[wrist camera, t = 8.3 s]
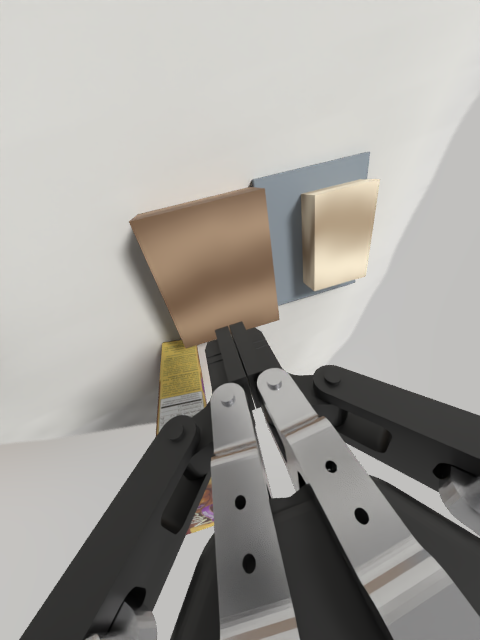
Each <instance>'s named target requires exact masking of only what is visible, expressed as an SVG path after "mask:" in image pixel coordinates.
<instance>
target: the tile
mask: <svg viewBox="0 0 480 640" xmlns="http://www.w3.org/2000/svg"><path fill="white" fill-rule="evenodd" d="M379 183H380V179H359V180H355V181H351V182H347V183H343V184H339V185H335V186H331V187H327V188H323V189H319V190H315V191H311V192H307V193H303V194H301V215H302V254H303V283H305V284H306V285H307V286H308V287H310V288H311V289H312V290H313V291H317V290H321V289H324V288H328V287H331V286H334V285H338V284H341V283H345V282H348V281H351V280H355V279H358V278H362V277H365V276H366V271H367V264H368V257H369V250H370V244H371V237H372V230H373V223H374V217H375V210H376V203H377V196H378V189H379Z"/></svg>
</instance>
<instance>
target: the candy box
mask: <svg viewBox="0 0 480 640" xmlns="http://www.w3.org/2000/svg"><path fill="white" fill-rule="evenodd" d="M206 406H207V402H206V396H205V390H204V384H203V378H202V372H201V367H200V361H199V355H198V349H197V345H196V346H192V347H189V348H185V346H184V344H183V341H182V340H177V341H170V342H164V343H162V353H161V366H160V381H159V396H158V411H157V427H156V436H157V435H158V433H159V432H160V430H161V429H162V427H163V426H164V425H165V424H166V422H168V421H169V420H170V419H172V418H173V417H176V416H179V415H187V416H189V417H193V416H194V415H195V414H197V413H198V412H200V411H201V410H202V409H204V408H205V407H206ZM211 526H214V515H213V498H212V481H211V479H210V481H209V483H208V485H207V488H206V490H205V492H204V495H203V497H202V499H201V501H200V504H199V506H198V508H197V511H196V513H195V515H194V517H193V520H192V522H191V524H190V526H189V529H188V531H187V533H186V535H187V534H190V533H194V532H196V531H199V530H202V529H205V528H208V527H211Z"/></svg>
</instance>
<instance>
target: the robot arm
mask: <svg viewBox="0 0 480 640" xmlns="http://www.w3.org/2000/svg"><path fill="white" fill-rule="evenodd" d="M229 328H230V330H229ZM230 331H231V333H230ZM215 333H216V337H217V339H216V340H213V341H210V342H208V343H207V346H206V349H205V353H206V358H207V364H208V370H209V375H210V381H211V386H212V396H211V399H210V401H209V403H208V404H207V406H206V407H205V408H204V409H202V410H201V411H200V412H198V413H197V414H195V415H194V416H193V417H189V416H187V415H179V416H176V417H173V418H172V419H170V420H169V421H168V422H166V424H165V425H164V426H163V427H162V429H161V430H160V432H159V433H158V435H157V436H156V437H155V439H154V441H153V442H152V443H151V445H150V446H149V448H148V449H147V451H146V453H145V454H144V455H143V457H142V459H141V460H140V461H139V463H138V464H137V466H136V467H135V469H134V470H133V472H132V473H131V475H130V476H129V478H128V479H127V481H126V482H125V483H124V485H123V487H122V488H121V489H120V491H119V492H118V494H117V495H116V497H115V498H114V500H113V501H112V503H111V504H110V506H109V507H108V509H107V510H106V512H105V513H104V515H103V516H102V518H101V519H100V521H99V522H98V524H97V525H96V527H95V528H94V530H93V531H92V532H91V534H90V536H89V537H88V538H87V540H86V541H85V543H84V544H83V546H82V547H81V549H80V550H79V552H78V553H77V555H76V556H75V558H74V559H73V561H72V562H71V564H70V565H69V567H68V568H67V570H66V571H65V573H64V574H63V576H62V577H61V579H60V580H59V581H58V583H57V585H56V586H55V587H54V589H53V591H52V592H51V593H50V595H49V596H48V598H47V599H46V601H45V602H44V604H43V605H42V607H41V609H40V610H39V611H38V613H37V614H36V616H35V617H34V619H33V620H32V622H31V623H30V624H29V626H28V628H27V629H26V630H25V632H24V634H23V635H22V636H21V638H20V639H19V640H157V627H156V621H155V618H154V615H153V614H152V611H153V608H154V606H155V604H156V602H157V599H158V597H159V595H160V593H161V590H162V588H163V586H164V583H165V581H166V579H167V577H168V574H169V572H170V570H171V567H172V565H173V563H174V561H175V558H176V556H177V553H178V552H179V549H180V547H181V545H182V542H183V540H184V538H185V536H186V533H187V531H188V529H189V526H190V524H191V522H192V520H193V517H194V515H195V513H196V511H197V508H198V506H199V504H200V501H201V499H202V497H203V495H204V492H205V490H206V488H207V485H208V483H209V481H210V479H211V481H212V498H213V515H214V531H215V533H214V534H213V535H212V537H211V538H210V540H209V541H208V543H207V545H206V546H205V548H204V550H203V552H202V554H201V556H200V558H199V561H198V563H197V566H196V568H195V572H194V574H193V577H192V580H191V582H190V585H189V588H188V591H187V594H186V597H185V600H184V602H183V605H182V608H181V611H180V613H179V616H178V619H177V622H176V625H175V627H174V630H173V633H172V636H171V639H170V640H480V538H478V537H477V536H475V535H473V534H472V533H470V532H468V531H467V530H465V529H464V528H462V527H460V526H459V525H457V524H455V523H454V522H452V521H450V520H449V519H447V518H445V517H444V516H442V515H441V514H439V513H437V512H436V511H434V510H432V509H431V508H429V507H427V506H426V505H424V504H422V503H421V502H419V501H417V500H416V499H414V498H412V497H411V496H409V495H408V494H406V493H404V492H403V491H401V490H399V489H398V488H396V487H394V486H393V485H391V484H389V483H387V482H385V481H383V480H381V479H379V478H376V477H373V476H371V475H368V474H367V472H366V471H365V469H364V468H363V467H362V465H361V464H360V463H359V461H358V460H357V459H356V457H355V456H354V454H353V453H352V452H351V450H350V449H349V448H348V446H347V445H346V443H347V444H349V445H351V446H353V447H355V448H357V449H358V450H360V451H362V452H364V453H366V454H368V455H370V456H372V457H374V458H375V459H377V460H379V461H381V462H383V463H385V464H387V465H389V466H390V467H392V468H394V469H396V470H398V471H400V472H402V473H404V474H406V475H407V476H409V477H411V478H413V479H415V480H417V481H419V482H421V483H422V484H425V485H426V486H428V487H430V488H432V489H434V490H436V491H437V492H439V494H440V496H441V499H442V501H443V503H444V504H445V506H446V507H447V509H448V510H449V511H450V513H451V514H452V515H453V516H454V517H455V518H457V519H458V520H459V521H460V522H461V523H463V524H464V525H466V526H467V527H469V528H470V529H472V530H473V531H474V532H475V533H477V534H478V535H479V536H480V416H479V415H476V414H473V413H470V412H468V411H465V410H462V409H459V408H456V407H453V406H450V405H447V404H445V403H442V402H439V401H436V400H433V399H430V398H427V397H425V396H422V395H419V394H416V393H413V392H410V391H407V390H404V389H401V388H398V387H396V386H393V385H390V384H387V383H384V382H381V381H378V380H376V379H373V378H370V377H367V376H364V375H361V374H358V373H356V372H353V371H350V370H347V369H344V368H341V367H338V366H334V365H326V366H322V367H320V368H318V369H317V370H316V371H315V373H314V375H303V376H298V375H293V374H290V373H288V372H286V371H285V370H283V369H282V367H281V366H280V364H279V362H278V361H277V359H276V357H275V355H274V353H273V352H272V350H271V348H270V346H269V345H268V343H267V341H266V340H265V337H264V336H263V334H262V332H261V331H259V330H258V329H256V328H255V327H254V328H251V329H248V330H246V328H245V326H244V324H243V322H242V321H241V322H238V323H235V324H231V325H229V327H228V326H225V327H222V328H219V329H216V330H215ZM231 335H232V336H231ZM232 338H233V339H232ZM251 395H252V396H251ZM252 397H253V400H254V403H255V406H256V408H260V407H261V408H262V411H263V413H264V416H265V420H266V423H267V426H268V428H269V430H270V432H271V435H272V437H273V439H274V441H275V443H276V445H277V448H278V450H279V452H280V454H281V456H282V458H283V460H284V463H285V465H286V467H287V470H288V473H289V475H290V478H291V480H292V483H293V486H294V488H295V490H296V493H295V494H293V495H292V496H291V497H288V498H272V494H271V490H270V486H269V482H268V478H267V474H266V471H265V466H264V462H263V458H262V454H261V450H260V445H259V441H258V437H257V433H256V429H255V420H254V417H253V413H252V410H254V409H255V407H254V403H253V400H252Z"/></svg>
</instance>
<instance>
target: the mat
mask: <svg viewBox="0 0 480 640" xmlns="http://www.w3.org/2000/svg"><path fill="white" fill-rule="evenodd" d="M369 156H370V152H365V153H361V154H357V155H353V156H348V157H344V158H340V159H336V160H332V161H328V162H324V163H319V164H315V165H311V166H307V167H303V168H299V169H295V170H291V171H286V172H282V173H278V174H274V175H270V176H266V177H262V178H257V179H253V180H252V185H253V187H256V188H265V194H266V203H267V212H268V221H269V230H270V239H271V248H272V257H273V266H274V275H275V284H276V293H277V302H278V305H282V304H285V303H288V302H292V301H295V300H298V299H302V298H305V297H308V296H312V295H315V294H318V293H321V292H325V291H328V290H331V289H335V288H338V287H341V286H345V285H348V284H351V283H355V280H351V281H348V282H345V283H341V284H338V285H334V286H331V287H328V288H324V289H321V290H317V291H313V290H312V289H311V288H310V287H308V286H307V285H306V284H305V283H303V254H302V215H301V194H303V193H307V192H311V191H315V190H319V189H323V188H327V187H331V186H335V185H339V184H343V183H347V182H351V181H355V180H359V179H367V174H368V165H369Z"/></svg>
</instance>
